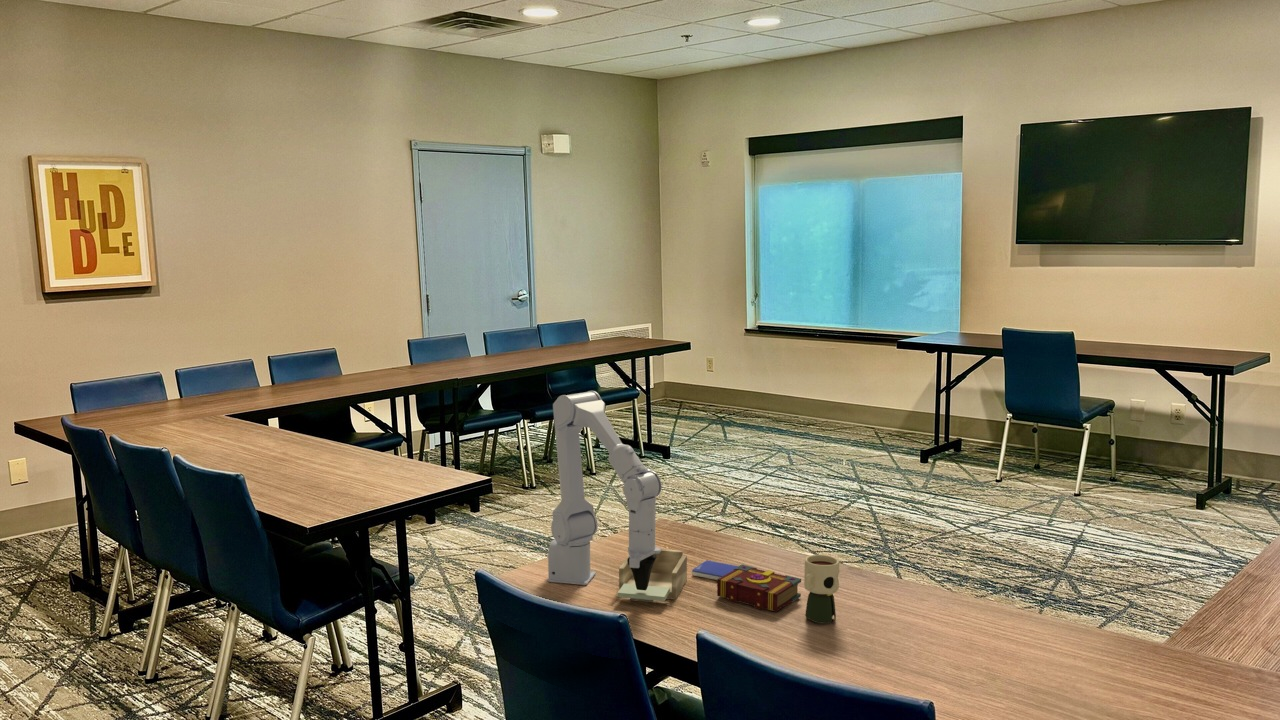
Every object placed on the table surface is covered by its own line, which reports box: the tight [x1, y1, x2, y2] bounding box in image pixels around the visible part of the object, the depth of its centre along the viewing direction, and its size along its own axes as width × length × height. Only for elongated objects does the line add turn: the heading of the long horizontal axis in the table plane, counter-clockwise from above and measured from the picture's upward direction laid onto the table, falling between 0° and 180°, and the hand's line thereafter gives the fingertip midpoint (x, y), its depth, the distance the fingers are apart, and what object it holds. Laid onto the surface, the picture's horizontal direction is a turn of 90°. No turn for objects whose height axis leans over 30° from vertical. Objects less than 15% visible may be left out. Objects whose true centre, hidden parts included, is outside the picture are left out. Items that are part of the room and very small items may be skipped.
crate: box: [618, 548, 688, 600], centre depth 223 cm, size 13×12×7 cm
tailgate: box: [617, 584, 670, 603], centre depth 214 cm, size 10×2×6 cm
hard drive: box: [691, 559, 739, 581], centre depth 231 cm, size 2×8×12 cm
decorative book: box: [716, 564, 802, 612], centre depth 217 cm, size 11×16×5 cm
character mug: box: [803, 554, 840, 624], centre depth 204 cm, size 11×7×13 cm, turn 137°
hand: (642, 589), depth 212 cm, fingers closed
